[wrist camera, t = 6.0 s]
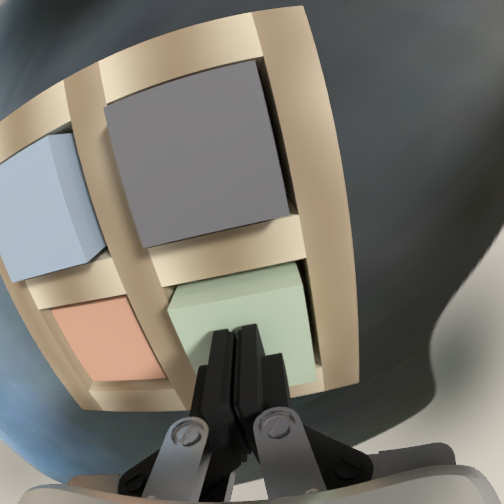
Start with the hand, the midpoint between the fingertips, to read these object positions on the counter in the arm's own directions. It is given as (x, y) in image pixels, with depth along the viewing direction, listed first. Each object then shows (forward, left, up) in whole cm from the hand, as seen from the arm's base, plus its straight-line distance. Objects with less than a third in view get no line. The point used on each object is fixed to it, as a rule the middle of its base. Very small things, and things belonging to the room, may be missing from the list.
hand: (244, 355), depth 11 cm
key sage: (0, 0, -3) cm, 3 cm away
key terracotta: (+7, 0, -5) cm, 9 cm away
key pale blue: (+7, -8, -3) cm, 11 cm away
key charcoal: (0, -8, -3) cm, 8 cm away
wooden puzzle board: (+4, -4, -6) cm, 8 cm away
